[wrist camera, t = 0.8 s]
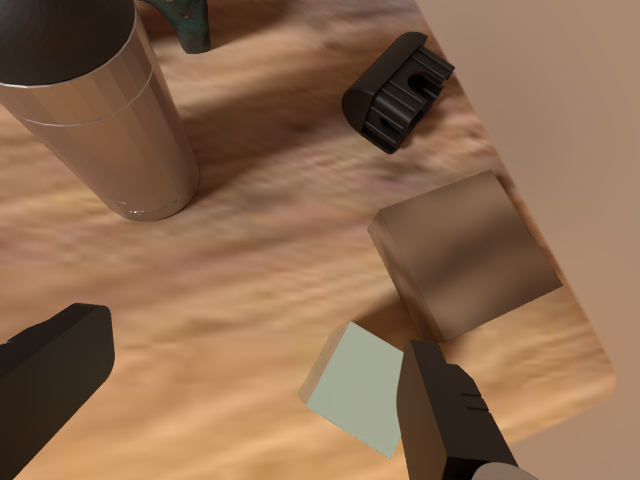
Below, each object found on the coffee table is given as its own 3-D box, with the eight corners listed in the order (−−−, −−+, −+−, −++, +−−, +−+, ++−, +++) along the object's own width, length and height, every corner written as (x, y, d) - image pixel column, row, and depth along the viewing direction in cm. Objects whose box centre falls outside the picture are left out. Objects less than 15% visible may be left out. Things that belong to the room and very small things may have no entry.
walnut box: (366, 230, 36) (379, 209, 32) (465, 193, 39) (491, 169, 34) (422, 345, 33) (446, 341, 28) (525, 296, 36) (563, 285, 31)
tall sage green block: (297, 394, 30) (305, 406, 21) (329, 334, 32) (350, 321, 23) (355, 430, 30) (390, 459, 20) (384, 368, 32) (429, 367, 22)
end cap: (385, 70, 43) (403, 18, 37) (434, 103, 42) (462, 56, 36) (335, 122, 40) (346, 76, 34) (388, 159, 39) (409, 119, 33)
